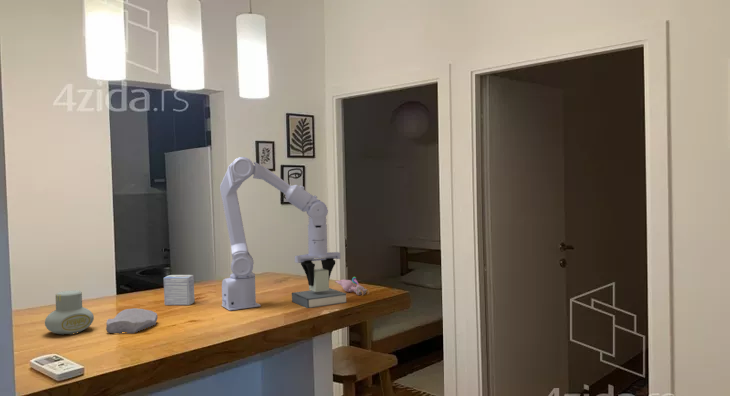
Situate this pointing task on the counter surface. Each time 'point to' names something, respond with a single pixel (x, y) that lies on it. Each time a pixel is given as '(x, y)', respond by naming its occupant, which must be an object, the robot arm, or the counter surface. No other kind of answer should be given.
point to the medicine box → (179, 290)
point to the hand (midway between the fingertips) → (318, 284)
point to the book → (318, 298)
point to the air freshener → (69, 314)
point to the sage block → (320, 280)
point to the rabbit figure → (352, 286)
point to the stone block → (131, 321)
